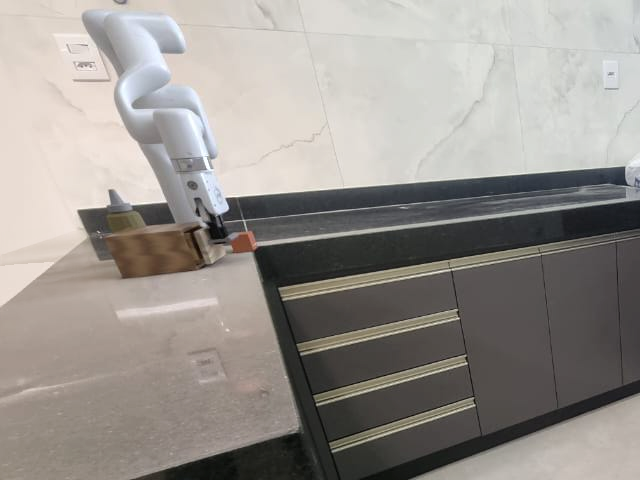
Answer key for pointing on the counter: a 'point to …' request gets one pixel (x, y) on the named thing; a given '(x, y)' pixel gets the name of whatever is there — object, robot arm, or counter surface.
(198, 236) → the drawer
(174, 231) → the cabinet
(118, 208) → the squeeze bottle
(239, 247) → the block
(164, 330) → the counter surface
